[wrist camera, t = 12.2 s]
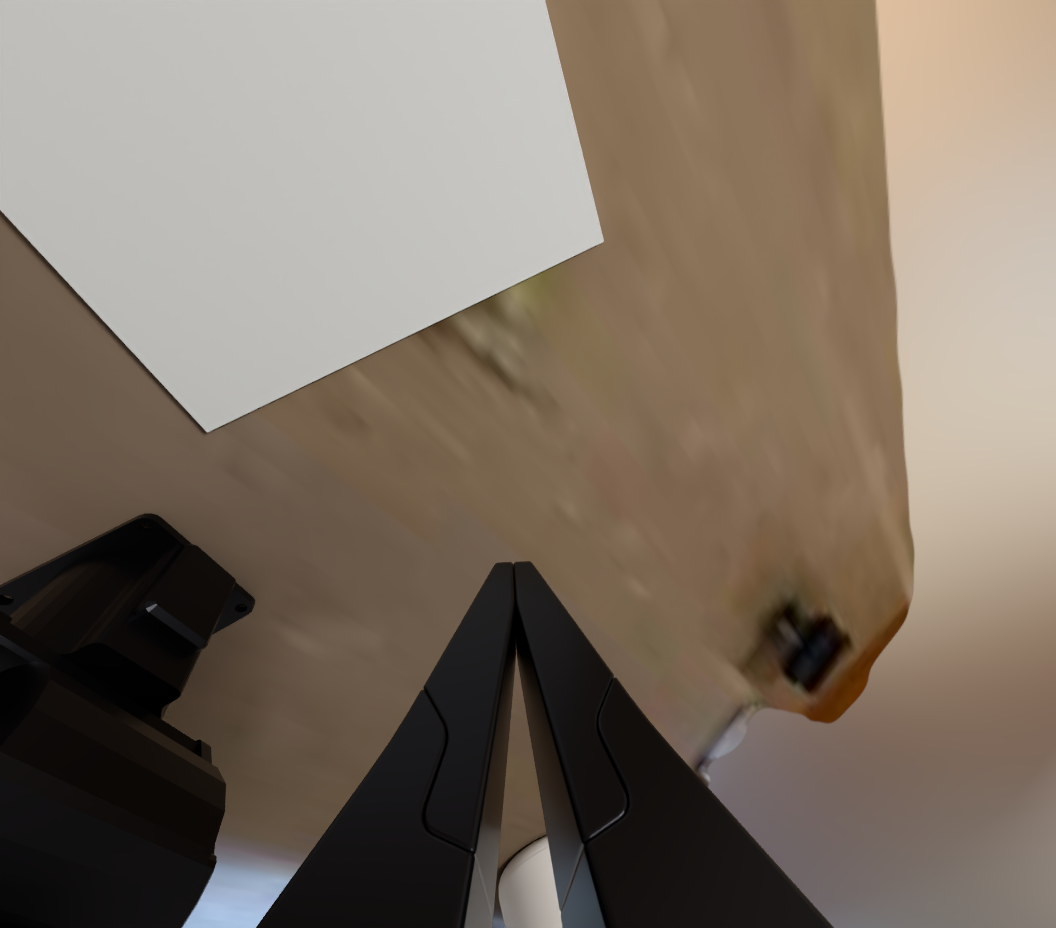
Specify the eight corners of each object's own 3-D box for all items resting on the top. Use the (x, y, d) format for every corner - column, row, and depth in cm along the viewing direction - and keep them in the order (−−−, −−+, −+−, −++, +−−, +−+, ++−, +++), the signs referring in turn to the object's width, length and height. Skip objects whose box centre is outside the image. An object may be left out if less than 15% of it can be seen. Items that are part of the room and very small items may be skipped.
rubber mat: (209, 431, 16) (207, 432, 16) (-298, -117, 9) (-312, -126, 9) (601, 242, 19) (603, 241, 19) (473, -278, 12) (474, -286, 12)
